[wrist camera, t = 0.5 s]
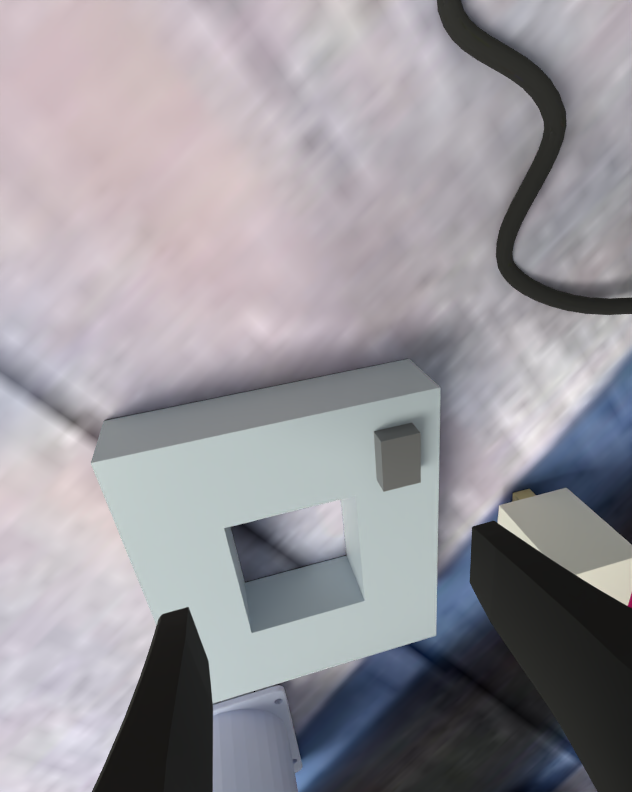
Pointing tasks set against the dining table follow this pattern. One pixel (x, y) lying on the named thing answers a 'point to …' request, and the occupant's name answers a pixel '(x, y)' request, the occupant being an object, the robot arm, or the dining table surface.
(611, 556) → the cream rectangular block
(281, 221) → the dining table surface
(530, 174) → the cable
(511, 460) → the dining table surface
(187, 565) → the socket plate
